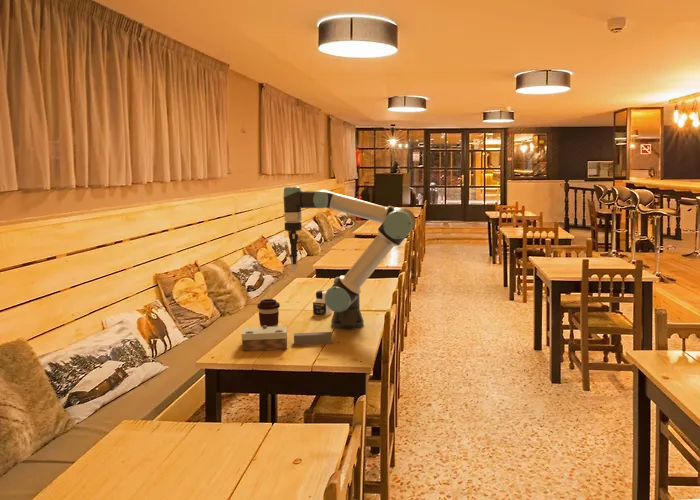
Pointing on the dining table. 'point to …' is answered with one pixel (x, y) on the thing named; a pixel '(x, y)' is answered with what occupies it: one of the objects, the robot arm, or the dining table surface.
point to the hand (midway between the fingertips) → (294, 268)
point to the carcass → (264, 344)
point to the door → (264, 333)
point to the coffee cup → (268, 312)
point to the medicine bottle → (321, 305)
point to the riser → (312, 338)
